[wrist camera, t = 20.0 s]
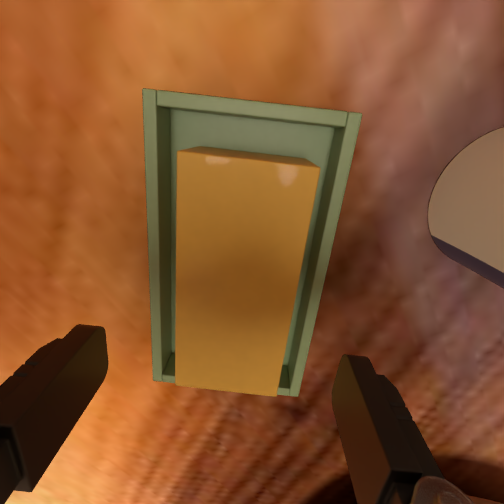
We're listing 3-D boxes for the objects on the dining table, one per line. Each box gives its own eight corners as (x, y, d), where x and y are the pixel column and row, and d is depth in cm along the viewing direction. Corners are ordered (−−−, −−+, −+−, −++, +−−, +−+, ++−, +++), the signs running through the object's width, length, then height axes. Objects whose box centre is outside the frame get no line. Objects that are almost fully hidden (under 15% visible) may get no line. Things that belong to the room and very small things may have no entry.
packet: (198, 145, 15) (176, 150, 11) (307, 158, 15) (321, 167, 11) (191, 337, 19) (174, 385, 15) (274, 346, 19) (276, 397, 16)
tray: (165, 353, 20) (152, 381, 18) (161, 95, 14) (141, 87, 12) (294, 367, 20) (298, 397, 18) (347, 116, 14) (363, 112, 12)
